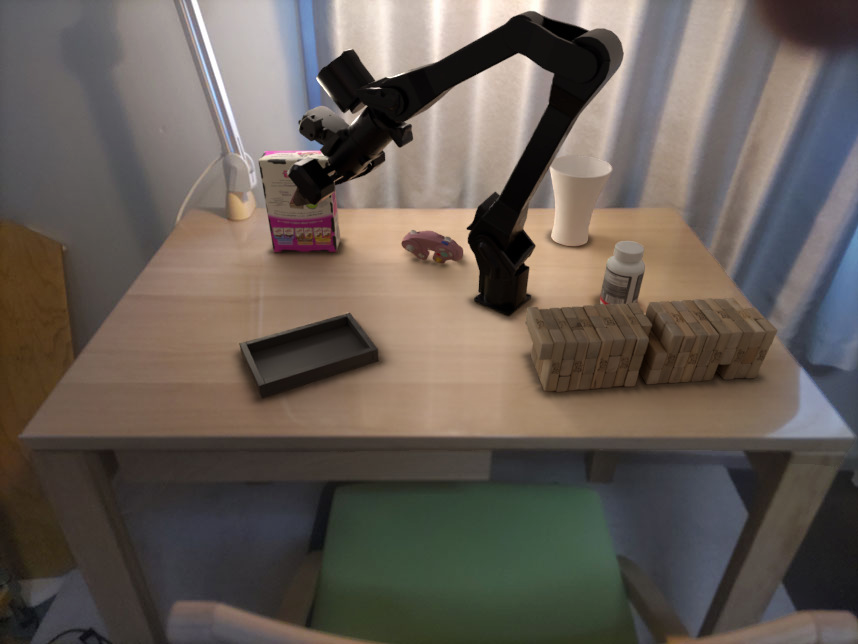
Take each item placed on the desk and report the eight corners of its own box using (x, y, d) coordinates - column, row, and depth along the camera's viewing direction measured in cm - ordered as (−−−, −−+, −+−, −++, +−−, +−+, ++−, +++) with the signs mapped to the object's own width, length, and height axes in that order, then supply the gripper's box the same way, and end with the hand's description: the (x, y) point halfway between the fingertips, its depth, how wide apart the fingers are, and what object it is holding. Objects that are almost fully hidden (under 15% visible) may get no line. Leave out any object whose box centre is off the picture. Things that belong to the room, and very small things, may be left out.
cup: (530, 242, 107) (539, 169, 99) (553, 220, 114) (562, 150, 107) (587, 257, 102) (600, 182, 95) (607, 234, 110) (621, 162, 102)
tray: (351, 323, 86) (350, 312, 85) (378, 361, 79) (378, 349, 78) (241, 355, 80) (239, 343, 79) (261, 398, 73) (258, 386, 72)
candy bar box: (341, 239, 107) (333, 149, 98) (337, 253, 103) (328, 160, 94) (278, 239, 107) (264, 148, 98) (272, 252, 103) (257, 159, 94)
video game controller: (403, 264, 103) (395, 239, 97) (413, 243, 105) (405, 217, 99) (458, 275, 100) (452, 250, 94) (466, 254, 102) (461, 228, 96)
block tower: (724, 347, 83) (518, 355, 80) (744, 296, 79) (526, 301, 75) (755, 385, 77) (532, 394, 74) (779, 331, 72) (542, 338, 69)
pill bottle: (621, 292, 93) (634, 235, 88) (643, 310, 89) (658, 252, 84) (591, 298, 92) (603, 241, 86) (612, 317, 88) (625, 258, 82)
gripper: (366, 78, 94) (315, 137, 104) (290, 108, 80) (240, 172, 91) (410, 136, 95) (356, 189, 106) (343, 175, 82) (288, 231, 92)
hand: (312, 193), depth 99 cm, fingers open, 9 cm apart
